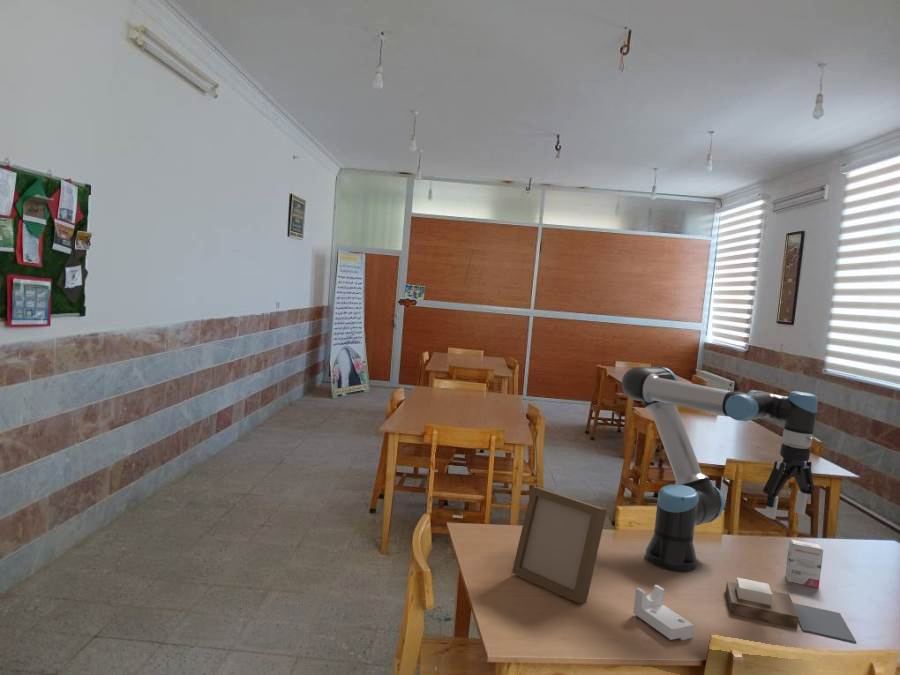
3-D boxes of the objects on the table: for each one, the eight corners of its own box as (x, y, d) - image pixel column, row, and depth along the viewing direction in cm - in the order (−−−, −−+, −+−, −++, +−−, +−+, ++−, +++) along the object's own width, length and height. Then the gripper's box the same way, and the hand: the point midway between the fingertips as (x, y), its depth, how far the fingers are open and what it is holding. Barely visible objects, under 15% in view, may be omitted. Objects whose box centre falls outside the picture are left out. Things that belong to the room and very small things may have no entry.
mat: (802, 631, 162) (802, 629, 162) (790, 603, 178) (791, 602, 178) (856, 643, 159) (856, 641, 159) (839, 614, 174) (839, 613, 174)
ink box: (815, 581, 195) (820, 543, 194) (819, 588, 190) (824, 549, 189) (784, 575, 197) (788, 538, 197) (786, 581, 193) (791, 543, 192)
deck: (730, 613, 169) (731, 602, 169) (725, 591, 182) (726, 581, 182) (797, 628, 164) (798, 617, 163) (787, 604, 177) (788, 594, 177)
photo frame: (577, 606, 165) (588, 512, 163) (511, 576, 179) (520, 489, 178) (606, 591, 176) (616, 502, 174) (541, 563, 190) (550, 481, 189)
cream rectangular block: (738, 598, 171) (739, 587, 171) (735, 587, 178) (737, 577, 178) (771, 605, 169) (772, 594, 168) (767, 594, 175) (768, 583, 175)
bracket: (632, 616, 163) (636, 588, 162) (654, 612, 166) (657, 584, 165) (670, 643, 151) (673, 613, 151) (692, 638, 154) (695, 609, 154)
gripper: (780, 450, 175) (769, 524, 177) (834, 447, 187) (823, 517, 189) (756, 442, 182) (745, 514, 184) (810, 440, 194) (799, 507, 196)
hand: (784, 515), depth 186 cm, fingers open, 13 cm apart
